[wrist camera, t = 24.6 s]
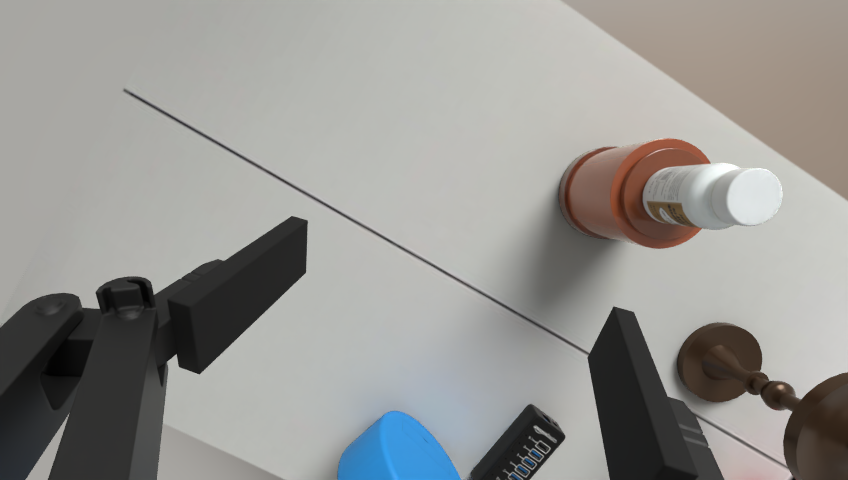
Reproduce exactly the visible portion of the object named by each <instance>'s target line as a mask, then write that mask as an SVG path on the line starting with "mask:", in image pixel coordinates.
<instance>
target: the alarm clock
mask: <svg viewBox="0 0 848 480" xmlns="http://www.w3.org/2000/svg"><path fill="white" fill-rule="evenodd" d="M338 480H461V479H460V477H459V475H458V473H457V471H456V469H455V467H454V465H453V464H452V462H451V460H450V459H449V457H448V456H447V454H446V453H445V451H444V450H443V448H442V447H441V446H440V444H439V443H438V442H437V440H436V439H435V438H434V437H433V436H432V435H431V434H430V432H429V431H428V430H427V429H426V428H425V427H424V426H423V425H421V424H420V423H419V422H418V421H416V420H415V419H414V418H412V417H411V416H409V415H407V414H405V413H402V412H399V411H390V412H388V413H386V414H384V415H383V416H382V417H381V418H380V419H379V420H377V421H376V422H375V423H374V424H373V425H372V426H371V427H369V428H368V429H367V430H366V431H365V432H364V433H363V434H362V435H360V436H359V437H358V438H357V439H356V440H355V441H354V442H352V443H351V444H350V445H349V446H348V447H347V448H346V449H345V451H344V452H343V454H342V456H341V459H340V462H339V467H338Z"/></svg>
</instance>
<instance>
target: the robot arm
mask: <svg viewBox="0 0 848 480" xmlns="http://www.w3.org/2000/svg"><path fill="white" fill-rule="evenodd" d="M307 224H308V220H304V219H300V218H297V217H293V216H291V217H290V218H288V219H287V220H285V221H284V222H282V223H281V224H279V225H278V226H276V227H275V228H273V229H272V230H270V231H269V232H267V233H266V234H264V235H263V236H261V237H260V238H258V239H257V240H255V241H254V242H252V243H251V244H249V245H248V246H246V247H245V248H243V249H242V250H240V251H239V252H237V253H236V254H234V255H233V256H231V257H230V258H228V259H227V260H225V261H222V260H219V259H217V260H214V261H211V262H208V263H205V264H203V265H201V266H199V267H198V268H196V269H195V270H193V271H192V272H191V273H188V274H187V275H185V276H184V277H182V279H179V280H177V281H176V282H174V283H173V284H171V285H169V286H168V287H166V288H165V289H163V290H161V291H160V292H158V293H157V294H155V295H154V294H153V289H152V285H151V282H150V281H149V280H147V279H146V278H142V277H123V278H118V279H115V280H112V281H109V282H107V283H105V284H104V285H102V286H100V287H99V289H98V290H97V291H96V296H97V299H98V303H99V306H100V309H91V308H82V305H81V302H80V299H79V297H78V296H76V295H74V294H68V293H58V294H50V295H46V296H42V297H39V298H37V299H35V300H32V301H30V302H29V303H27V304H26V305H24V306H23V307H22V308H21V309H20V310H19V311H18V312H16V313H15V314H14V315H13V316H12V317H11V318H10V319H9V320H8V321H7V322H6V323H5V324H4V325H3V326H2V327H0V480H25V479H26V478H27V476H28V475H29V473H30V472H31V470H32V469H33V467H34V466H35V464H36V463H37V461H38V460H39V458H40V457H41V455H42V454H43V452H44V451H45V449H46V447H47V446H48V445H49V443H50V442H51V440H52V438H53V437H54V436H55V434H56V433H57V431H58V429H59V428H60V426H61V425H62V423H63V422H64V420H65V419H66V417H67V415H68V414H69V413H70V414H69V417H68V420H67V423H66V426H65V430H64V432H63V436H62V438H61V442H60V445H59V448H58V451H57V454H56V457H55V460H54V463H53V466H52V469H51V472H50V475H49V478H48V480H157V471H158V462H159V461H158V460H159V452H160V442H161V433H162V424H163V414H164V405H165V395H166V386H167V376H168V365H167V361H168V360H170V359H171V358H172V357H173V356H174V355H176V354H177V358H178V364H179V367H181V368H183V369H186V370H189V371H192V372H195V373H197V374H200V373H201V372H202V371H204V370H205V369H206V368H207V367H208V366H209V365H210V364H211V363H212V362H213V361H214V360H215V359H216V358H217V357H218V356H219V355H220V354H221V353H222V352H223V351H224V350H225V349H227V348H228V347H229V346H230V345H231V344H232V343H233V342H234V341H235V340H236V339H237V338H238V337H239V336H240V335H241V334H242V333H243V332H244V331H245V330H246V329H247V328H248V327H250V326H251V325H252V324H253V323H254V322H255V321H256V320H257V319H258V318H259V317H260V316H261V315H262V314H263V313H264V312H265V311H266V310H267V309H268V308H269V307H270V306H272V305H273V304H274V303H275V302H276V301H277V300H278V299H279V298H280V297H281V296H282V295H283V294H284V293H285V292H286V291H287V290H288V289H289V288H290V287H291V286H292V285H293V284H295V283H296V282H297V281H298V280H299V279H300V278H301V277H302V276H303V275H304V274H305V273H306V256H307ZM588 362H589V368H590V373H591V379H592V384H593V390H594V395H595V400H596V406H597V411H598V417H599V422H600V428H601V433H602V439H603V444H604V449H605V455H606V460H607V466H608V471H609V477H610V480H724V478H723V476H722V474H721V471H720V469H719V467H718V465H717V463H716V460H715V458H714V456H713V454H712V452H711V449H710V448H708V443H707V441H706V438H705V436H704V435H702V433H703V432H702V429H701V427H700V425H699V423H698V421H697V418H696V417H695V415H694V414H693V413H692V412H691V411H690V409H689V408H688V407H687V406H686V405H685V403H684V402H683V401H680V400H677V399H673V398H670V397H667V394H666V392H665V389H664V387H663V384H662V382H661V379H660V377H659V374H658V372H657V369H656V367H655V364H654V362H653V359H652V357H651V354H650V351H649V349H648V346H647V344H646V341H645V339H644V336H643V334H642V331H641V329H640V326H639V324H638V321H637V319H636V316H635V314H634V312H632V311H628V310H624V309H621V308H617V307H613V309H612V311H611V313H610V315H609V317H608V319H607V321H606V322H605V324H604V326H603V328H602V330H601V332H600V334H599V336H598V338H597V340H596V342H595V344H594V346H593V348H592V350H591V352H590V354H589V356H588Z"/></svg>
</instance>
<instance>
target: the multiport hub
mask: <svg viewBox="0 0 848 480" xmlns="http://www.w3.org/2000/svg"><path fill="white" fill-rule="evenodd" d="M564 439H565V435H564V433H563V432H562V430H561V428H560V427H559V425H558V424H557V422H555V421H554V420H553V419H551V418H550V417H549V416H547V415H546V414H545V413H543V412H542V411H541V410H539V409H538V408H537V407H535V406H534V405H532V404H530V405H528V406H527V407H526V408H525V409H524V411H523V412H522V413H521V414H520V415H519V417H518V418H517V419H516V420H515V421H514V422H513V424H512V425H511V426H510V427H509V428H508V429H507V431H506V432H505V433H504V434H503V435H502V436H501V438H500V439H499V440H498V441H497V442H496V443H495V445H494V446H493V447H492V448H491V449H490V451H489V452H488V453H487V454H486V455H485V456H484V458H483V459H482V460H481V461H480V462H479V463H478V465H477V466H476V467H475V468H474V469H473V470H472V473H471V474H472V478H473V480H530V479H531V477H532V476H533V475H534V474H535V473H536V472H537V471H538V469H539V468H540V467H541V466H542V465H543V464H544V462H545V461H546V460H547V459H548V458H549V457H550V456H551V454H552V453H553V452H554V451H555V450H556V449H557V448H558V446H559V445H560V444H561V443H562V442H563V441H564Z"/></svg>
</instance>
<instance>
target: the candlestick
mask: <svg viewBox="0 0 848 480" xmlns="http://www.w3.org/2000/svg"><path fill="white" fill-rule="evenodd" d="M677 365H678V373H679V376H680V379H681V381H682V382H683V384H684V385H685V386H686V387H687V389H688V390H690V391H691V392H693V393H694V394H695V395H697V396H698V397H700V398H702V399H704V400H707V401H712V402H724V401H729V400H732V399H734V398H737V397H739V396H740V395H742V394H744V393H745V392H746V391H747V392H748V393H750V394H752V395H759V394H760V395H761V398H762V399H763V401H764V402H765V404H766V405H767V406H768V407H770V408H771V409H774V410H785V409H788V410H790V411H792V414H791V416H790V418H789V421H788V423H787V426H786V429H785V434H784V440H783V446H784V456H785V460H786V464H787V466H788V468H789V470H790V472H791V474H792V475H793V476H794V478H795V479H796V480H848V372H847V373H842V374H839V375H837V376H834V377H831V378H829V379H827V380H825V381H824V382H822V383H820V384H818V385H817V386H815V387H814V388H813V389H812V390H811V391H809V392H808V393H807V394H806V395H805V396H804V397H803V398H802V400H801V399H799V398H797V397H796V394H795V391H794V389H793V388H792V386H790V385H789V384H787V383H785V382H782V381H769V379H768V377H767V375H765V374H764V373H762V372H760V370H761V365H762V353H761V349H760V346H759V344H758V342H757V340H756V339H755V338H754V337H753V335H752V334H750V333H749V332H748V331H746V330H744V329H742V328H740V327H738V326H735V325H733V324H729V323H712V324H708V325H706V326H703V327H701V328H699V329H698V330H696V331H695V332H694V333H692V334H691V335H690V336H689V337H688V339H687V340H686V341H685V342H684V344H683V346H682V348H681V350H680V353H679V356H678V363H677Z"/></svg>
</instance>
